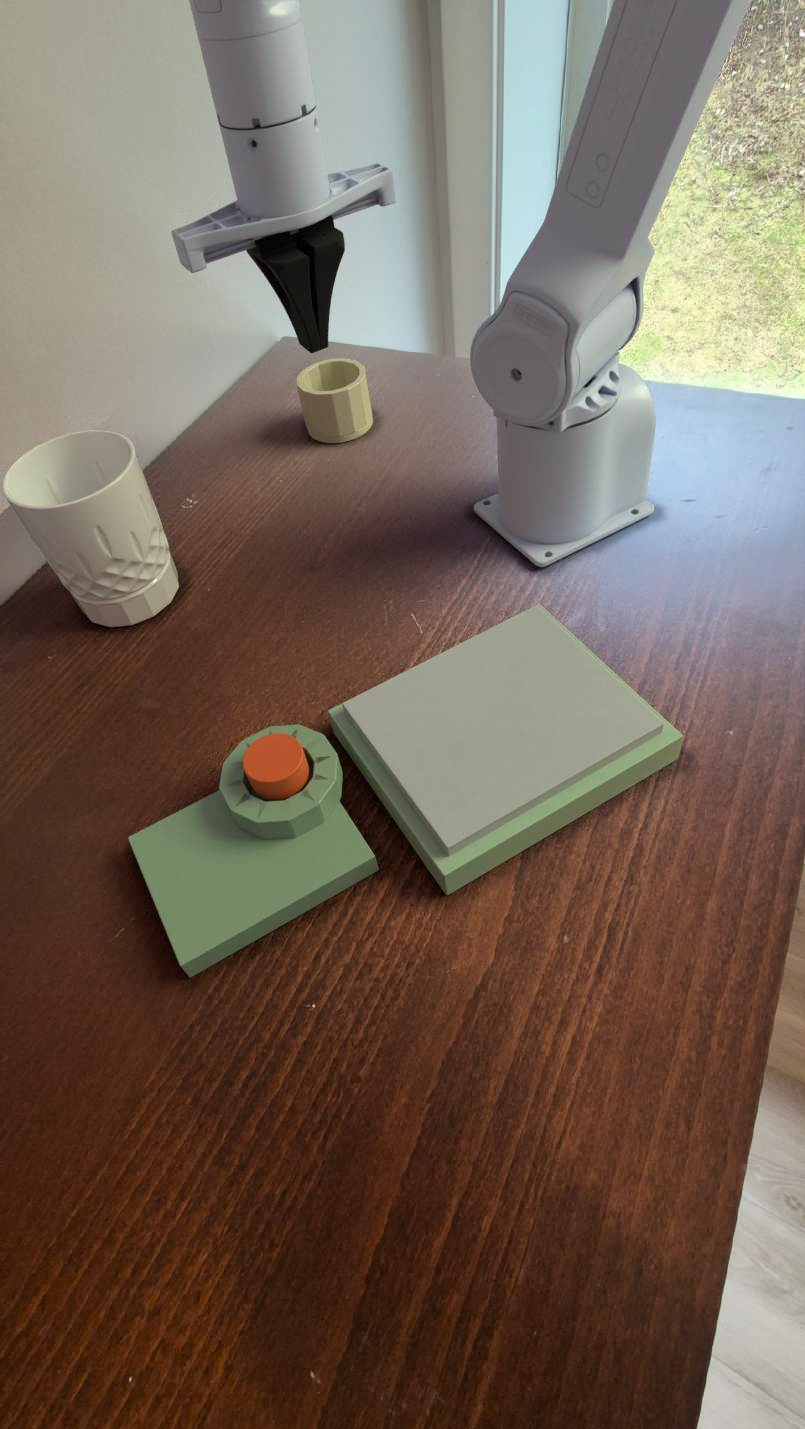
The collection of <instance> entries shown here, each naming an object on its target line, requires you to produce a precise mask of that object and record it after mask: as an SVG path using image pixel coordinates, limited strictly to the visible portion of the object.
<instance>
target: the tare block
mask: <svg viewBox="0 0 805 1429" xmlns="http://www.w3.org/2000/svg"><path fill="white" fill-rule="evenodd" d="M274 733H283V734H288V735H290V736H292V737H294V738H295V739H297V740H298V741H299V742H300V744H301V746H302V748H303V751H304V754H305V757H306V760H307V762H308V765H309V776H308V779H307V781H306V783H305V785H304V786H303V787H302V789H300V790H299V791H298V792H297V793H296V794H294V795H292V796H290V797H288V798H285V799H280V800H269V799H265V798H263V797H261V796H259V795H258V794H256V793H255V791H254V790H253V789H252V786H251V784H250V782H249V780H248V778H247V775H246V773H245V771H244V768H243V757H244V754H245V752H246V750H247V749H248V747H249V746H250V745H251V744H252V743H253V742H254V741H256V740H257V739H259V738H261V737H263V736H266V735H269V734H274ZM343 776H344V773H343V769H342V765H341V762H340V758H339V755H338V753H337V751H336V750H335V749H334V747H333V746H332V744H331V743H330V741H329V740H328V739H327V736H326V735H324V734H323V733H321V732H319V731H316V730H314V729H311V728H310V727H306V726H303V725H301V724H285V725H273V726H267V727H266V728H264V729H262V730H260V731H258V732H256V733H254V734H252V735H250V736H247V737H246V738H244V739H242V740H241V741H240V742H239V743H238V744H237V745H236V747H234V749H233V750H232V751H231V753H229V755H228V756H227V757H226V759H225V760H224V761H223V763H222V767H221V773H220V779H219V783H218V784H219V785H218V790H217V791H214V792H213V793H211V794H209V795H206V796H204V797H202V798H201V799H199V800H197V801H196V802H194V803H192V804H189V805H187V806H186V807H183V808H182V809H180V810H178V811H176V812H174V813H172V814H170V815H168V816H167V817H165V818H162V819H160V820H158V821H156V822H154V823H153V824H151V825H149V826H147V827H145V828H142V829H141V830H139V831H136V832H135V833H133V834H131V835H129V836H127V840H128V843H129V845H130V848H131V850H132V853H133V855H134V857H135V860H136V862H137V866H138V867H139V870H140V872H141V874H142V877H143V879H144V882H145V884H146V887H147V889H148V891H149V894H150V896H151V900H152V901H153V904H154V906H155V909H156V911H157V913H158V916H159V918H160V921H161V923H162V926H163V928H164V930H165V933H166V935H167V938H168V940H169V943H170V945H171V948H172V950H173V953H174V954H175V958H176V960H177V963H178V965H179V967H180V968H181V969H182V970H183V972H184V973H185V975H187V977H188V978H192V977H194V976H196V975H197V974H200V973H201V972H203V971H205V970H206V969H208V968H210V967H212V966H213V965H215V964H217V963H219V962H220V961H223V960H224V959H226V958H228V957H229V956H231V955H233V954H234V953H236V952H238V951H240V950H241V949H243V948H245V947H246V946H247V947H248V946H249V945H251V944H252V943H254V942H256V941H257V940H259V939H261V938H263V937H264V936H266V935H268V934H270V933H271V932H273V931H275V930H276V929H279V928H280V927H282V926H284V925H285V924H287V923H289V922H290V921H292V920H294V919H296V918H298V917H299V916H301V915H303V914H305V913H307V912H308V911H310V910H312V909H314V908H315V907H318V906H319V905H320V904H322V903H324V902H325V901H327V900H329V899H331V898H333V897H334V896H336V895H338V894H340V893H341V892H343V891H345V890H347V889H349V888H350V887H352V886H353V885H355V884H357V883H359V882H361V881H362V880H364V879H366V878H368V877H370V876H371V875H373V874H375V873H377V872H378V871H379V870H380V869H379V864H378V862H377V858H376V855H375V854H374V852H373V850H372V849H371V847H370V846H369V845H368V844H369V843H367V841H366V840H365V838H364V836H363V835H362V834H361V831H360V830H359V829H358V827H357V826H356V825H355V823H354V821H353V820H352V818H351V817H350V815H349V813H348V812H347V809H345V808H344V805H342V802H341V798H342V797H343V796H342V793H343Z"/></svg>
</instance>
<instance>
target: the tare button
mask: <svg viewBox="0 0 805 1429" xmlns="http://www.w3.org/2000/svg"><path fill="white" fill-rule="evenodd" d="M243 768H244V771H245V773H246V775H247V778H248V780H249V782H250V784H251V786H252V789H253V790H254V791H255V793H256V794H258V795H259V796H261V797H263V798H265V799H269V800H280V799H285V798H288V797H290V796H292V795H294V794H296V793H297V792H298V791H299V790H300V789H302V787H303V786H304V785H305V783H306V781H307V779H308V776H309V765H308V762H307V760H306V757H305V754H304V751H303V748H302V746H301V744H300V742H299V741H298V740H297V739H295V738H294V737H292V736H290V735H288V734H283V733H274V734H269V735H266V736H263V737H261V738H259V739H257V740H256V741H254V742H253V743H252V744H251V745H250V746H249V747H248V749H247V750H246V752H245V754H244V757H243Z"/></svg>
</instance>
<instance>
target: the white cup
mask: <svg viewBox="0 0 805 1429" xmlns="http://www.w3.org/2000/svg"><path fill="white" fill-rule="evenodd" d="M1 490H2V494H3V495H4V497H5V499H6V501H7V502H8V503H9V505H10V506H11V509H13V511H14V513H15V514H16V516H17V517H18V519H19V520H20V522H21V524H22V525H23V526H24V528H25V530H26V531H27V533H28V534H29V536H30V538H31V539H32V540H33V542H34V544H35V545H36V546H37V549H38V550H39V551H40V553H41V554H42V556H43V558H44V559H45V561H46V562H47V564H48V566H50V568H51V569H52V571H53V573H54V574H55V575H56V576H57V577H58V579H59V580H60V583H61V584H62V585H63V587H64V588H65V589H66V590H67V591H68V592H69V593H70V594H71V596H72V598H73V599H74V601H75V602H76V605H77V606H78V607H79V609H80V610H81V612H82V613H83V614H84V615H85V616H86V617H87V618H88V619H89V621H91V623H92V624H93V623H94V624H97V625H100V626H104V627H108V628H118V627H119V628H120V627H127V626H129V627H130V626H134V625H136V624H140V623H142V622H144V621H146V620H149V619H151V618H154V617H155V616H157V615H158V614H159V613H160V612H162V611H163V610H164V609H165V608H166V607H167V606H169V605H171V603H172V601H173V600H174V597H175V596H176V594H177V592H178V590H179V588H180V584H179V581H180V580H179V575H178V574H179V573H178V569H177V566H176V564H175V562H174V559H173V557H172V554H171V551H170V545H169V541H168V539H167V535H166V532H165V530H164V527H163V524H162V520H161V517H160V514H159V512H158V509H157V506H156V504H155V501H154V498H153V495H152V493H151V490H150V488H149V484H148V481H147V479H146V476H145V474H144V471H143V468H142V465H141V463H140V460H139V456H138V454H137V451H136V449H135V446H134V443H133V442H132V441H131V439H129V438H128V437H126V436H125V435H123V434H121V433H118V432H115V431H111V430H104V429H90V430H89V429H87V430H80V431H74V432H69V433H66V434H62V435H58V436H56V437H53V438H51V439H48V440H46V441H44V442H41V443H39V444H38V445H36V446H34V447H31V449H29V450H27V451H26V452H24V453H23V454H22V455H20V456H18V458H17V459H15V461H14V462H13V463H12V464H11V465H10V466H9V468H8V469H7V470H6V472H5V473H4V475H3V478H2V481H1Z"/></svg>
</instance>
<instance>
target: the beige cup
mask: <svg viewBox="0 0 805 1429" xmlns="http://www.w3.org/2000/svg"><path fill="white" fill-rule="evenodd" d="M296 388H297V394H298V397H299V402H300V406H301V411H302V415H303V419H304V420H303V421H304V423H305V427H306V429H307V430H306V431H307V433H308V435H309V436H310V437H311V438H312V439H314V440H315V441H317V442H320V443H324V444H325V443H326V444H340V443H347V442H351V441H353V440H356V439H358V438H360V437H362V436H363V435H364V434H366V433H367V432H368V431H369V430H371V428H372V426H373V423H374V416H373V408H372V401H371V396H370V390H369V389H370V388H369V383H368V376H367V369H366V366H365V365H363V364H362V363H361V362H360V361H358V360H355V359H352V358H351V359H350V358H347V357H339V358H328V359H324V360H320V361H316V362H314V363H312V364H311V365H309V366H307V367H305V368H304V369H302V370H301V372H299V373H298V375H297V376H296Z"/></svg>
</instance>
